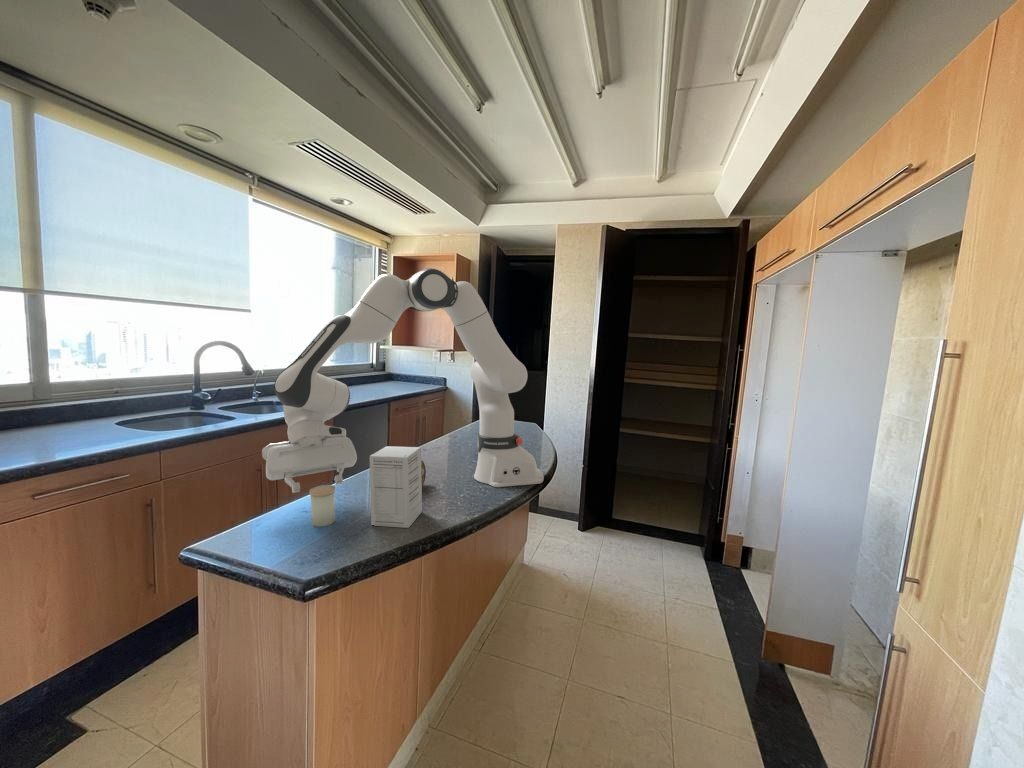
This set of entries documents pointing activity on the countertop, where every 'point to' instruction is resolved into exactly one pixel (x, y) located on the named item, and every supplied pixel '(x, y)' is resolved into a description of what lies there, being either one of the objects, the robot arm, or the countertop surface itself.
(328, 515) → the jar
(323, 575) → the countertop surface
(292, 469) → the robot arm
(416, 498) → the supplement box
